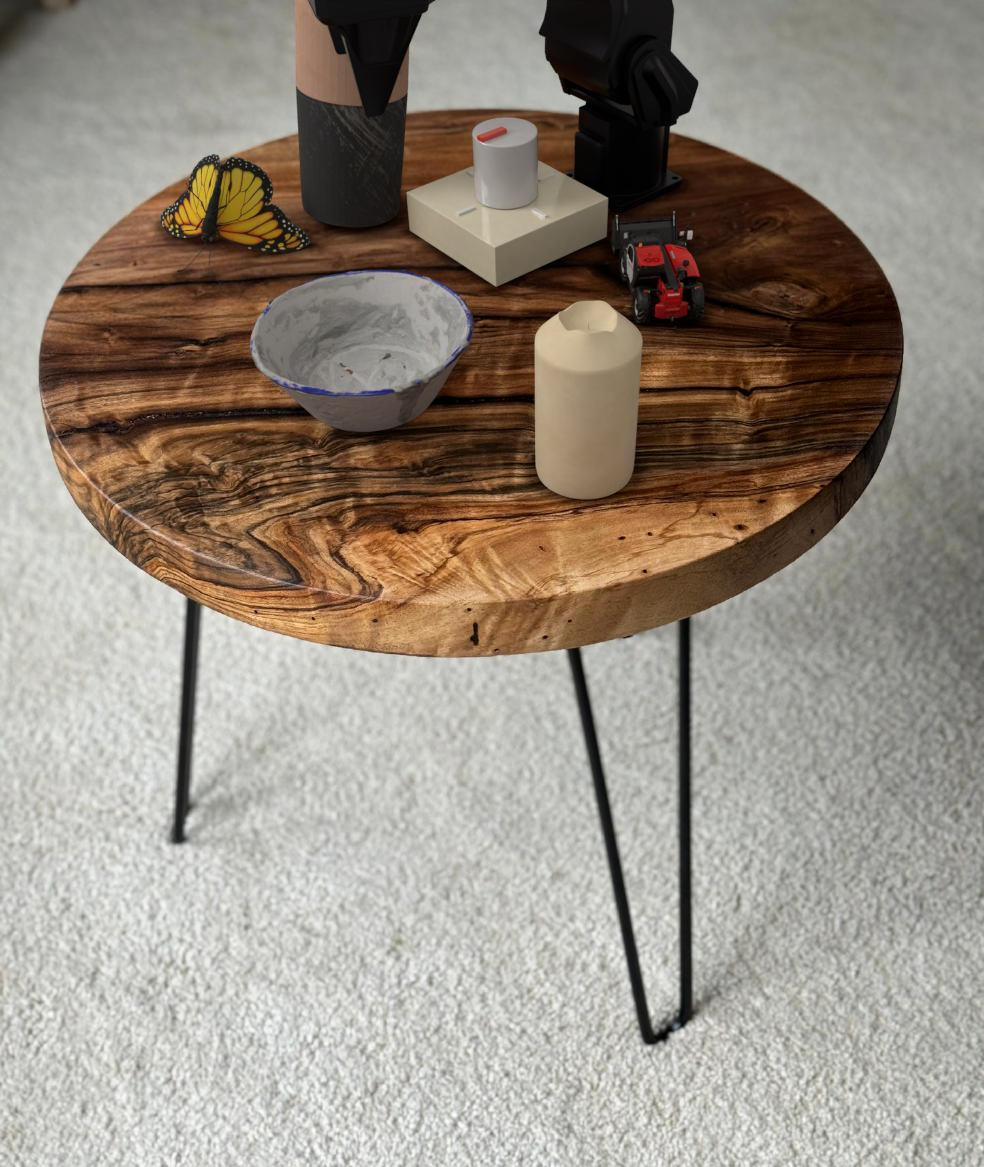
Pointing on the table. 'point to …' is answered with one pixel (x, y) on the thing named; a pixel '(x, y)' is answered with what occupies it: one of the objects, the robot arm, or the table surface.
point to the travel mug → (344, 134)
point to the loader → (658, 268)
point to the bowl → (363, 346)
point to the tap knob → (505, 162)
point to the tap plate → (507, 223)
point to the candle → (586, 400)
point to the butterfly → (232, 208)
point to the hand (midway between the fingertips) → (359, 82)
